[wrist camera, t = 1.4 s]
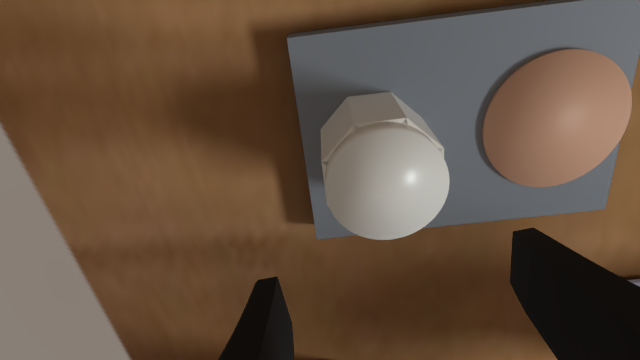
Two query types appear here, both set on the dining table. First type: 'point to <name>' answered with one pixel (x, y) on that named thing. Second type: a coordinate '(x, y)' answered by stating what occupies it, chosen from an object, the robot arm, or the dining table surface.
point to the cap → (382, 167)
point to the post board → (486, 100)
